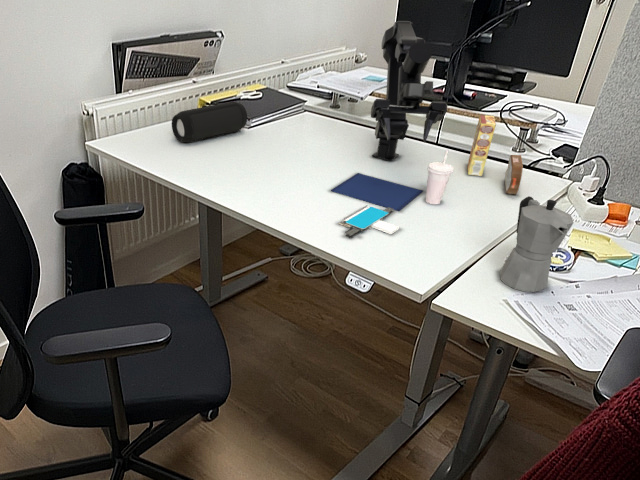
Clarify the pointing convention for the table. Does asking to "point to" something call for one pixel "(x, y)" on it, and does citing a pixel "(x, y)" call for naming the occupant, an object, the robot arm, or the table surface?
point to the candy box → (481, 145)
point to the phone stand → (368, 221)
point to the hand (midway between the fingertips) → (406, 140)
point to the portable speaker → (209, 121)
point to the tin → (513, 174)
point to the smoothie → (437, 180)
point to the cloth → (377, 191)
